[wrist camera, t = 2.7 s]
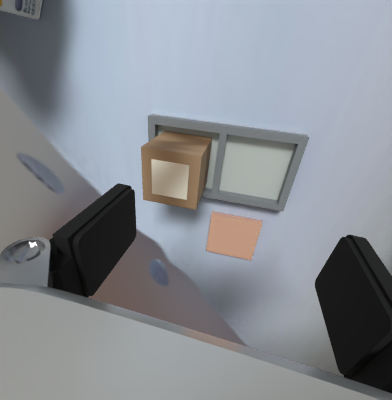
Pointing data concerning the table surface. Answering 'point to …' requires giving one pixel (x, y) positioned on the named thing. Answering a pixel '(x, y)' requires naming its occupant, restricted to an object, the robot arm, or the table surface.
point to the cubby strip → (243, 159)
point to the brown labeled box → (175, 168)
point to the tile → (233, 235)
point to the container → (22, 7)
